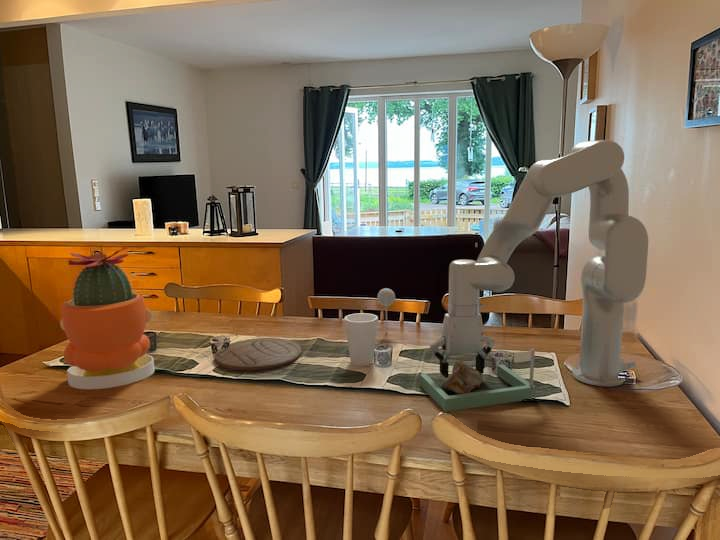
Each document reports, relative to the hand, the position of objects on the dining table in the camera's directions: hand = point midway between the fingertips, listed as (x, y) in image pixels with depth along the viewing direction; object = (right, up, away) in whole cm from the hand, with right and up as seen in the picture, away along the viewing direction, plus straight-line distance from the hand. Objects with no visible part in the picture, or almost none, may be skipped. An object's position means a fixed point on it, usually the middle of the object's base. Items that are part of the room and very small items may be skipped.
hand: (462, 373), depth 140 cm
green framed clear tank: (+2, -3, -6) cm, 7 cm away
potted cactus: (-92, -3, +6) cm, 93 cm away
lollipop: (-17, +6, +42) cm, 46 cm away
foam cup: (-26, 0, +15) cm, 30 cm away
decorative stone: (-1, -3, -3) cm, 4 cm away
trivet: (-56, +1, +22) cm, 60 cm away
